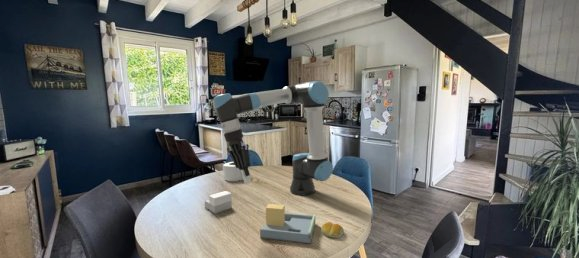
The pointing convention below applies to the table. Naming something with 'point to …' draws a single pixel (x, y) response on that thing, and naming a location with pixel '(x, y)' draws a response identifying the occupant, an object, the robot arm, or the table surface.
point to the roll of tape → (232, 172)
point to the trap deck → (291, 229)
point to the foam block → (219, 202)
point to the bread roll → (332, 230)
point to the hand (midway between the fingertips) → (248, 182)
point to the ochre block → (275, 215)
